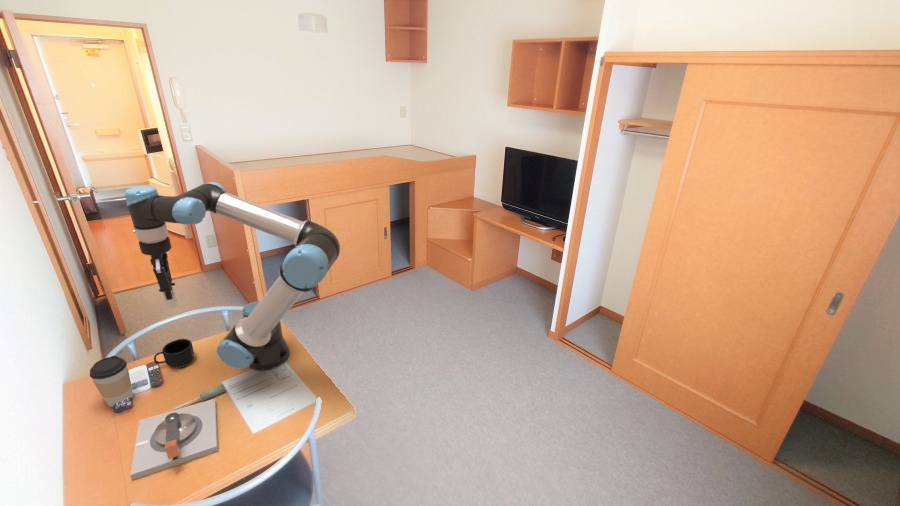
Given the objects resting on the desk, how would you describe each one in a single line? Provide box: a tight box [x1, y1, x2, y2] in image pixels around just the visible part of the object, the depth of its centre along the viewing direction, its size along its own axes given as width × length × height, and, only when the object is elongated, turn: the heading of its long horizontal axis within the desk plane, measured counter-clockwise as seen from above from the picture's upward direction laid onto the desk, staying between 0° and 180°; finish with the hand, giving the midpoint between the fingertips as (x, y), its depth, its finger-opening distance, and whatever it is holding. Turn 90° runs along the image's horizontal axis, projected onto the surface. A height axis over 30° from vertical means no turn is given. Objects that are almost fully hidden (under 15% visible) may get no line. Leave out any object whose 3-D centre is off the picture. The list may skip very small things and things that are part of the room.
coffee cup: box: [89, 355, 134, 408], centre depth 127 cm, size 9×9×15 cm
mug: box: [153, 338, 195, 369], centre depth 145 cm, size 12×9×7 cm
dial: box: [154, 413, 196, 459], centre depth 114 cm, size 16×10×6 cm, turn 31°
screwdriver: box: [171, 383, 226, 411], centre depth 131 cm, size 15×3×3 cm
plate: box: [129, 398, 219, 481], centre depth 118 cm, size 20×20×2 cm
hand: (172, 305), depth 129 cm, fingers closed
